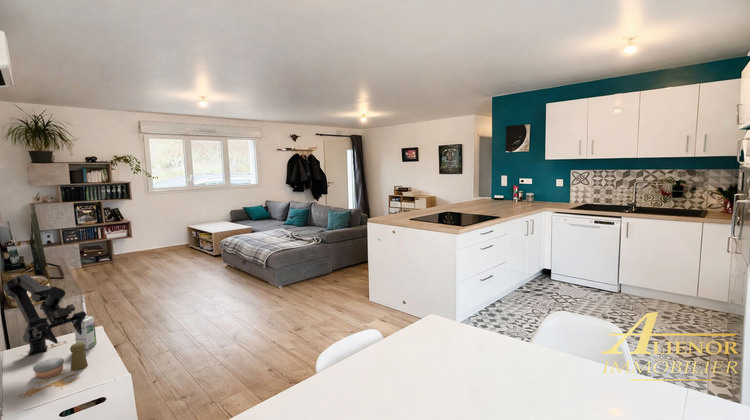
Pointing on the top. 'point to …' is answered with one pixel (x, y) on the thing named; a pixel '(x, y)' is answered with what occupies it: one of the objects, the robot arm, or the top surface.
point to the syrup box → (87, 332)
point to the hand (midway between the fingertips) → (69, 338)
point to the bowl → (49, 372)
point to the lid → (48, 364)
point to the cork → (78, 357)
